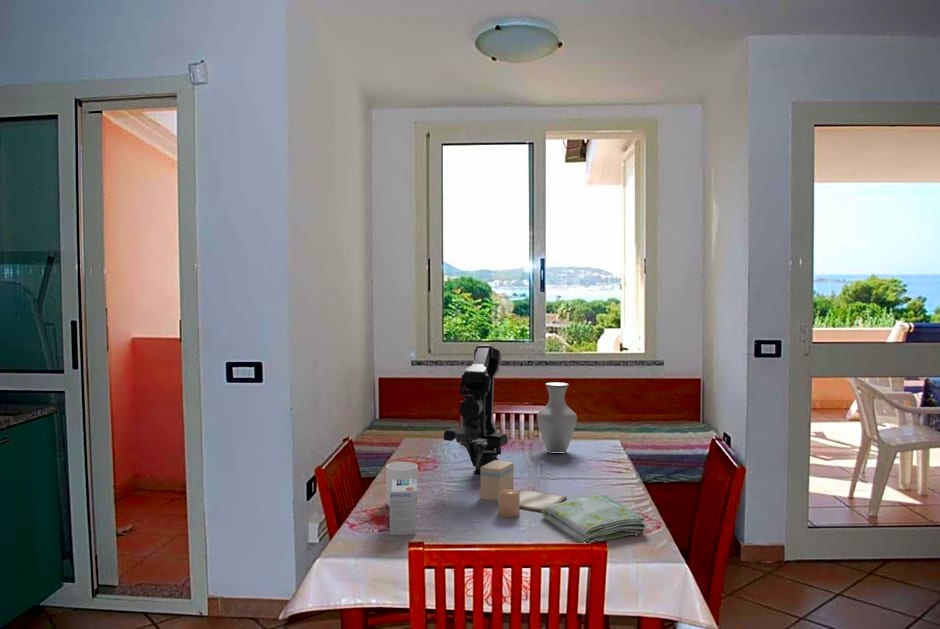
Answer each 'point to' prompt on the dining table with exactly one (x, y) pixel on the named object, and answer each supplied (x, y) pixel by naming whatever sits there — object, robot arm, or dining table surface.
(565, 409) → the vase
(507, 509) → the wooden cylinder
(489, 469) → the carton
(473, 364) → the robot arm
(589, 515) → the towel
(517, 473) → the dining table surface
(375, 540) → the dining table surface
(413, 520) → the light bulb box
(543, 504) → the picture frame
